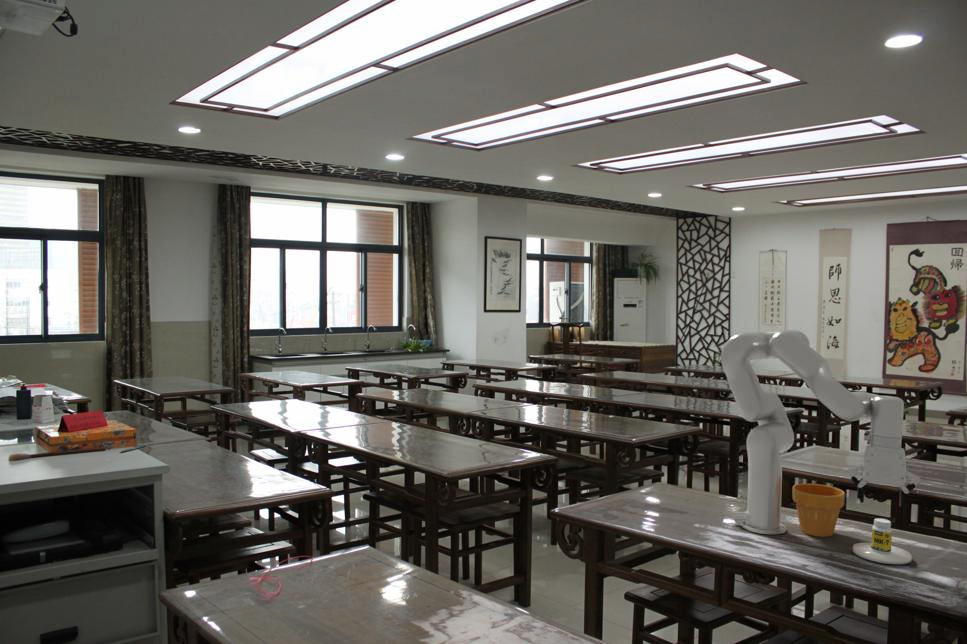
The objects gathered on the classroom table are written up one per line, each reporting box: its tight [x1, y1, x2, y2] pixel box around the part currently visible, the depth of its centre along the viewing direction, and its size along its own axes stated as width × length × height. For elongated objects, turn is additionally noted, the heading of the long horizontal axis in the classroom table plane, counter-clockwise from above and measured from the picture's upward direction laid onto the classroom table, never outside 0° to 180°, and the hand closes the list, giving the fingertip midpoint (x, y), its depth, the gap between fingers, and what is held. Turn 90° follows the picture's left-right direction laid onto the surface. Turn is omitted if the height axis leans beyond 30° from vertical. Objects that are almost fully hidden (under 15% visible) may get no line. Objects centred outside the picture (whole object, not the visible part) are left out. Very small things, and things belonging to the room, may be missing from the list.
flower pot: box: [791, 483, 846, 538], centre depth 216 cm, size 14×14×13 cm
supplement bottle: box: [870, 517, 893, 554], centre depth 195 cm, size 5×5×8 cm
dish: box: [852, 542, 913, 565], centre depth 196 cm, size 14×14×2 cm
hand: (881, 504), depth 196 cm, fingers open, 9 cm apart
